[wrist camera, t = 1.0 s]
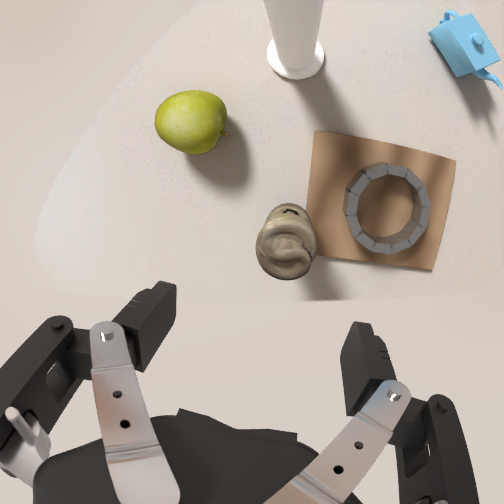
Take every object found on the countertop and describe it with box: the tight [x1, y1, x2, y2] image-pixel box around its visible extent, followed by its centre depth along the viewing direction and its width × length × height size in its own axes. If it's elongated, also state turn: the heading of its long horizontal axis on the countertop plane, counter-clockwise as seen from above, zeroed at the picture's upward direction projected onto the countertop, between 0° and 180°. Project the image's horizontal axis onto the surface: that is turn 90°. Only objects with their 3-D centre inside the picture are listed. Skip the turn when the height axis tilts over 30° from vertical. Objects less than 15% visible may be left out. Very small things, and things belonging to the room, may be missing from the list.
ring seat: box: [342, 162, 431, 254], centre depth 33 cm, size 11×11×3 cm
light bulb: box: [256, 203, 317, 280], centre depth 30 cm, size 6×6×15 cm
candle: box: [262, 0, 324, 80], centre depth 18 cm, size 7×7×25 cm
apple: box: [155, 90, 230, 154], centre depth 31 cm, size 8×9×8 cm
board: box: [306, 130, 456, 270], centre depth 34 cm, size 20×16×1 cm
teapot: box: [428, 10, 502, 89], centre depth 21 cm, size 12×6×8 cm, turn 34°
